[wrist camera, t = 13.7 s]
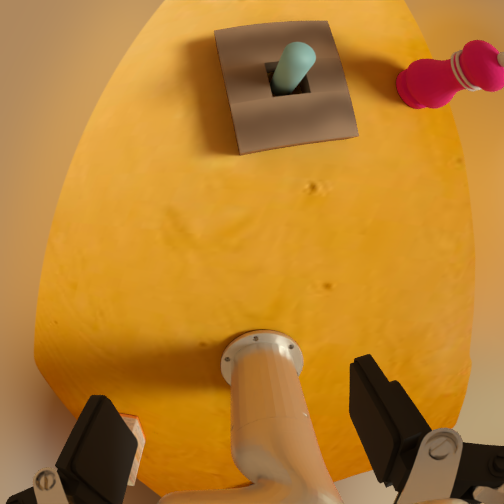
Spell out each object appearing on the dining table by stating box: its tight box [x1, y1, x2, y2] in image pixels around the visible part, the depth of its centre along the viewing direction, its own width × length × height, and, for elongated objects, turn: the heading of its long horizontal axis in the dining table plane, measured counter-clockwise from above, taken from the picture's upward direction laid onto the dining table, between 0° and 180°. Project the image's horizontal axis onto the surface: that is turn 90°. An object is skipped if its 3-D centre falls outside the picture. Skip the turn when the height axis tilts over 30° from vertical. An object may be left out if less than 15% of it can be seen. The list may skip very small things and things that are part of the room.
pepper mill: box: [396, 40, 504, 109], centre depth 22 cm, size 7×7×20 cm
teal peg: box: [270, 42, 316, 97], centre depth 26 cm, size 3×3×11 cm
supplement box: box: [119, 413, 146, 486], centre depth 39 cm, size 8×5×13 cm, turn 178°
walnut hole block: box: [214, 21, 359, 155], centre depth 29 cm, size 16×14×4 cm
